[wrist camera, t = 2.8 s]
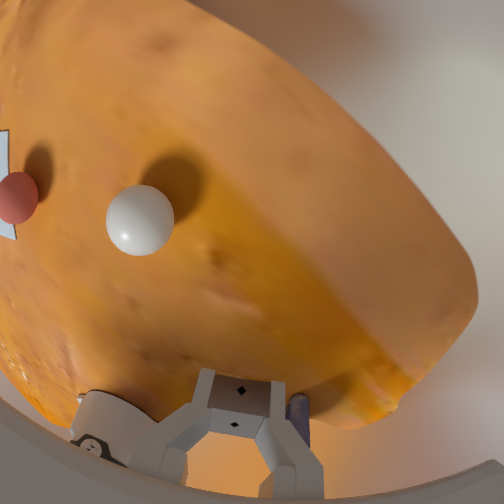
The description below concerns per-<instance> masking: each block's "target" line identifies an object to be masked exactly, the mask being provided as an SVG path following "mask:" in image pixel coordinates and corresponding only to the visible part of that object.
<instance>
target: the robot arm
mask: <svg viewBox="0 0 504 504" xmlns="http://www.w3.org/2000/svg"><path fill="white" fill-rule="evenodd" d="M77 400H78V402H79V403H80V405H79V408H78V410H77V412H76V415H75V417H74V419H73V422H72V424H71V427H70V432H71V435H72V437H73V440H71V441H70V442H68V441H66V440H64V439H63V438H61V437H59V436H57V435H56V434H54V433H52V432H51V431H49V430H47V429H46V428H44V427H42V426H41V425H39V424H38V423H36V422H34V421H33V420H31V419H30V418H28V417H27V416H26V415H24V414H23V413H21V412H20V411H18V410H17V409H16V408H14V407H13V406H11V405H10V404H9V403H7V402H6V401H5V400H3V399H2V398H1V397H0V504H504V466H503V465H502V464H501V463H499V462H498V461H496V460H494V459H491V460H487V461H485V462H483V463H481V464H478V465H476V466H473V467H471V468H469V469H466V470H464V471H461V472H458V473H456V474H453V475H450V476H447V477H444V478H441V479H437V480H434V481H431V482H427V483H424V484H420V485H416V486H412V487H408V488H404V489H399V490H394V491H389V492H384V493H378V494H371V495H364V496H357V497H347V498H336V499H324V476H323V475H324V474H323V466H322V465H321V463H320V462H319V461H318V459H317V458H316V457H315V455H314V454H313V452H312V451H311V450H310V448H309V447H308V446H307V444H306V443H305V442H304V440H303V439H302V437H301V436H300V435H299V433H298V432H297V430H296V429H295V428H294V426H293V425H292V423H291V422H290V421H289V420H285V382H280V381H273V380H268V379H261V378H255V377H248V376H240V375H235V374H230V373H226V372H221V371H217V370H213V369H208V368H204V367H202V369H201V371H200V374H199V377H198V381H197V384H196V388H195V391H194V395H193V398H192V402H191V403H186V404H184V405H183V406H182V407H180V408H179V409H177V410H176V411H175V412H173V413H172V414H170V415H169V416H168V417H166V418H165V419H163V420H162V421H161V422H159V423H157V422H155V421H153V420H152V419H151V418H150V417H148V416H147V415H146V414H145V413H143V412H142V411H141V410H139V409H138V408H136V407H135V406H133V405H131V404H129V403H128V402H126V401H124V400H122V399H120V398H118V397H115V396H113V395H110V394H107V393H104V392H99V391H90V392H88V393H87V394H86V395H78V398H77ZM208 431H211V432H217V433H223V434H229V435H235V436H240V437H246V438H252V439H254V441H255V443H256V445H257V447H258V449H259V451H260V452H261V454H262V456H263V458H264V460H265V462H266V464H267V466H268V467H269V469H270V471H271V474H270V475H269V476H268V477H267V478H266V479H265V480H264V481H263V482H262V483H261V484H260V485H259V494H258V498H254V497H244V496H236V495H229V494H223V493H217V492H211V491H206V490H201V489H196V488H191V487H187V486H185V485H186V480H187V475H188V468H187V467H188V466H187V454H186V452H187V451H189V450H190V449H191V448H192V447H193V446H194V445H195V444H196V443H197V442H198V441H199V440H201V438H203V437H204V436H205V435H206V434H207V433H208Z"/></svg>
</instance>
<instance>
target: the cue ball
mask: <svg viewBox="0 0 504 504" xmlns="http://www.w3.org/2000/svg"><path fill="white" fill-rule="evenodd" d="M106 227H107V232H108V235H109V237H110V239H111V240H112V242H113V243H114V244H115V245H116V246H117V247H118V248H119V249H120V250H121V251H123V252H125V253H127V254H130V255H135V256H144V255H148V254H152V253H154V252H156V251H157V250H159V249H160V248H161V247H163V246H164V245H165V243H166V242H167V241H168V239H169V238H170V236H171V234H172V231H173V227H174V212H173V208H172V206H171V203H170V202H169V200H168V199H167V197H166V196H165V195H164V194H163V193H162V192H161V191H159V190H158V189H156V188H154V187H151V186H147V185H134V186H131V187H128V188H126V189H124V190H122V191H121V192H120V193H118V194H117V195H116V196H115V198H114V199H113V200H112V202H111V203H110V205H109V208H108V211H107V215H106Z"/></svg>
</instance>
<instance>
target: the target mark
mask: <svg viewBox="0 0 504 504" xmlns="http://www.w3.org/2000/svg"><path fill="white" fill-rule="evenodd" d="M7 175H9V131H3V132H0V182H1V181H2V179H3V178H4V177H6V176H7ZM0 235H1V236H4V237H7V238H10V239H13V240H17V239H16V233H15V227H14V225H13V224H8V223H6V222H4V221H3V220H2V219H1V218H0Z"/></svg>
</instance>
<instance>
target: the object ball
mask: <svg viewBox="0 0 504 504" xmlns="http://www.w3.org/2000/svg"><path fill="white" fill-rule="evenodd" d="M37 203H38V189H37V185H36V183H35V181H34V180H33V179H32V177H30V176H29V175H28V174H26V173H23V172H14V173H11V174H9V175H7V176H6V177H4V178H3V179H2V181H1V182H0V218H1V219H2V220H3V221H4V222H6V223H8V224H13V225H16V224H21V223H23V222H25V221H26V220H28V219H29V218H30V217H31V216H32V214H33V213H34V211H35V209H36V207H37Z"/></svg>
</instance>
